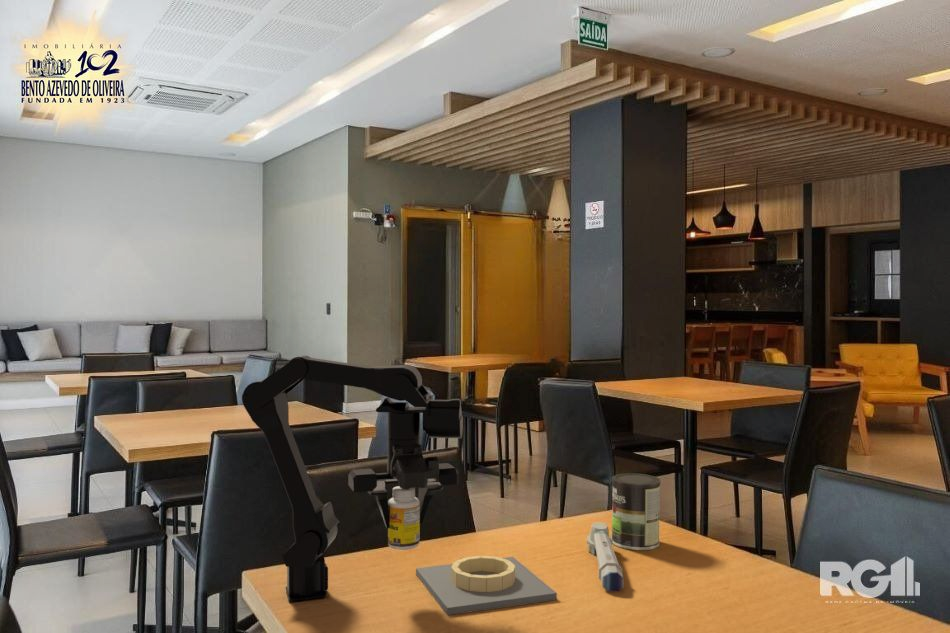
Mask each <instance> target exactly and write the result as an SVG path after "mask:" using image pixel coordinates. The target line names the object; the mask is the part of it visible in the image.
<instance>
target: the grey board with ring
mask: <svg viewBox="0 0 950 633" xmlns="http://www.w3.org/2000/svg"><path fill="white" fill-rule="evenodd" d="M415 575H416V576H417V578H418V579H419V580H420V581H421V583H422V585H423V586H424V587H425V589H427V590H428V592H429V593H430V595H431V596H432V597H433V598H434V600H435V601H436V602H437V604H438V605H439V606H440V608H441V609H442V610H443V611H444V612H445V614H446V615H447V616H451V615H458V614H465V613H472V612H480V611H486V610H494V609H501V608H507V607H509V608H510V607H513V606H522V605H523V606H524V605H529V604H535V603H542V602H550V601H557V600H558V598H557V594H558V593H557V592H556V591H555V590H554V589H552V587H550V586H549V585H548V584H547V583H545V582H544V580H542V579H540V578H539V577H538V575H536V574H534V573H533V571H531V570H530V569H528V568H527V567H526V566H525V565H523V563H521V562H520V561H518V560H517V558H515V557H514V556H509V557H499V556H491V555H490V556H489V555H474V556H467V557H463V558H461V559H458V560H455V561H454V562H453V563H450V564H442V565H440V564H439V565H431V566H422V567H416V568H415Z"/></svg>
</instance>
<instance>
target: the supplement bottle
mask: <svg viewBox="0 0 950 633" xmlns="http://www.w3.org/2000/svg"><path fill="white" fill-rule="evenodd" d="M388 510H389V528H387V543H388V544H387V545H388V547H390V548H391V549H393V550H396V551H397V550H399V551H407V550H409V551H410V550H412V549H416V548H417V547H418V546H419V545H420V535H421V534H420V533H421V531H420V529H421V528H420V526H421V525H420V501H419V499H418V497H416V488H410V489H402V488H400V487H399V485H398V486H397V485H396V486H394V487H393V488H392V497H391V498H389V499H388Z"/></svg>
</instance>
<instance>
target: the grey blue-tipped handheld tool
mask: <svg viewBox="0 0 950 633" xmlns="http://www.w3.org/2000/svg"><path fill="white" fill-rule="evenodd" d="M609 530H610V529H609V526H608V524H606V522H603V521H594V522H593V523H592V524H591V526H590V533H589V534H588V535H587V536H586V542H587V543H586V544H587V550H588V553H591V554H592V555H594V556H596V559H597V564H598V565H597V566H598V580H600V582H601V584H602V588H603V589H604V590H605V591H606V592H620V591H621V590H622V589H623V588H624V582H625V581H624V580H625V579H624V574H623V573H624V569H623V568H622V567H621V566H620V564H619V561H618V558H617V556H616V553H615V551H614V548H613V545H614V544H613V540H612V536H610V531H609Z"/></svg>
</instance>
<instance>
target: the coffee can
mask: <svg viewBox="0 0 950 633" xmlns="http://www.w3.org/2000/svg"><path fill="white" fill-rule="evenodd" d="M611 482H612V498H611V499H612V500H611V501H612V508H611V509H612V511H611V514H612V515H611V516H612V520H611V521H612V522H611V524H612V525H611V527H612V529H611V537H612V540H613V544H612V545H613V546H614V545H615V546H616V547H618V548H621V549H625V550H629V551H639V552H640V551H650V550H655V549H657V548H660V547H659V546H660V512H661V511H660V510H661V509H660V508H661V506H660V501H661V500H660V497H661V494H660V493H661V478H659V477H657V476H655V475H650V474H647V473H646V474H644V473H636V472H635V473H634V472H633V473H629V472H627V473H619V474H615V475H613V476H612V477H611Z"/></svg>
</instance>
